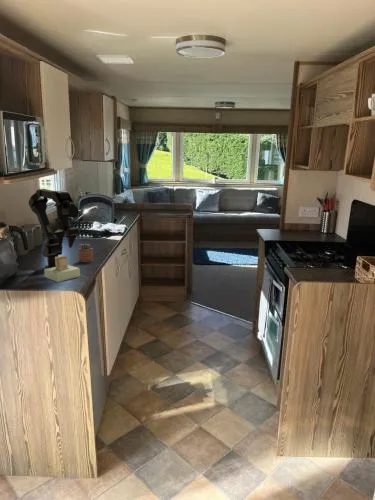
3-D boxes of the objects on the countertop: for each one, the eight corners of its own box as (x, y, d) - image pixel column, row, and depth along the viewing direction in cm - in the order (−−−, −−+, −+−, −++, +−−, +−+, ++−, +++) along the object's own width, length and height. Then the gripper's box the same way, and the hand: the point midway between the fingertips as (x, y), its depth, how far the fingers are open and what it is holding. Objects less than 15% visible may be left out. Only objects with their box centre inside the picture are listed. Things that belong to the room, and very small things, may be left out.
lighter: (94, 260, 219) (92, 243, 216) (92, 261, 215) (91, 244, 213) (79, 260, 218) (78, 243, 216) (78, 262, 215) (77, 244, 213)
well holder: (45, 277, 187) (44, 269, 186) (66, 271, 196) (66, 264, 195) (57, 281, 179) (57, 273, 179) (80, 276, 188) (79, 268, 187)
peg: (56, 276, 187) (54, 257, 185) (63, 275, 190) (62, 255, 188) (61, 278, 185) (59, 258, 183) (68, 276, 188) (66, 256, 186)
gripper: (38, 216, 191) (41, 246, 195) (58, 219, 179) (61, 252, 182) (58, 213, 199) (61, 243, 203) (78, 216, 187) (81, 248, 191)
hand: (65, 246), depth 194 cm, fingers open, 9 cm apart
